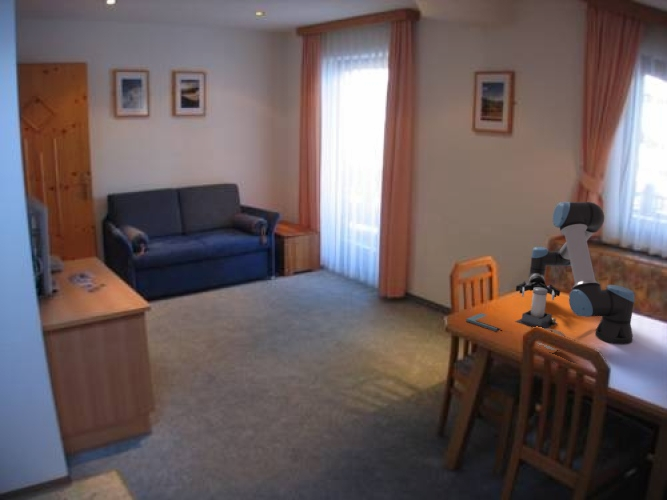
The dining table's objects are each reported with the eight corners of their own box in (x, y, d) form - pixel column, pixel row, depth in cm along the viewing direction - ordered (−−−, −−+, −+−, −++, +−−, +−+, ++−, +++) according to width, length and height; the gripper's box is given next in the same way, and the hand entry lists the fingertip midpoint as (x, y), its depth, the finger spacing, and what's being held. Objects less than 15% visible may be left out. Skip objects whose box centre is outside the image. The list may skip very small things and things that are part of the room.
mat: (510, 325, 293) (510, 322, 293) (496, 331, 285) (496, 328, 285) (480, 315, 304) (480, 313, 304) (466, 321, 296) (466, 318, 296)
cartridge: (545, 322, 294) (550, 289, 289) (539, 325, 289) (543, 292, 285) (533, 318, 298) (537, 286, 294) (526, 322, 294) (530, 289, 289)
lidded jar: (557, 358, 259) (560, 336, 257) (531, 350, 266) (534, 330, 263) (565, 350, 268) (568, 329, 265) (540, 343, 274) (543, 322, 271)
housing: (557, 326, 294) (558, 315, 292) (542, 333, 284) (543, 322, 283) (529, 317, 303) (531, 306, 302) (514, 324, 294) (515, 313, 293)
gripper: (562, 292, 317) (565, 306, 297) (510, 286, 324) (510, 300, 304) (564, 278, 315) (567, 291, 295) (512, 272, 322) (511, 285, 302)
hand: (538, 295), depth 300 cm, fingers open, 13 cm apart
